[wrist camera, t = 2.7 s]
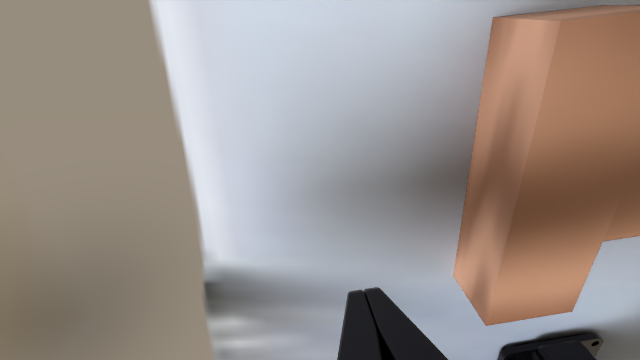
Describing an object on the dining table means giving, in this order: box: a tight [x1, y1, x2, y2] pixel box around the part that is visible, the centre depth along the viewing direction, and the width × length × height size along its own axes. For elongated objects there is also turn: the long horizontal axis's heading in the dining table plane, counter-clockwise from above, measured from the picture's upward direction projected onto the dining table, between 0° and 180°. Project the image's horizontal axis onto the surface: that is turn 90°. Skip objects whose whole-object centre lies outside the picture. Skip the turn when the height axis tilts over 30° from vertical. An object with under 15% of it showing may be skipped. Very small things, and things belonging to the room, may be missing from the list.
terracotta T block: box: [453, 5, 640, 326], centre depth 13 cm, size 12×12×3 cm
